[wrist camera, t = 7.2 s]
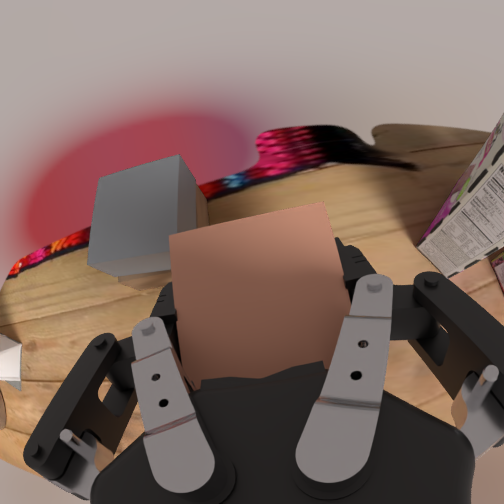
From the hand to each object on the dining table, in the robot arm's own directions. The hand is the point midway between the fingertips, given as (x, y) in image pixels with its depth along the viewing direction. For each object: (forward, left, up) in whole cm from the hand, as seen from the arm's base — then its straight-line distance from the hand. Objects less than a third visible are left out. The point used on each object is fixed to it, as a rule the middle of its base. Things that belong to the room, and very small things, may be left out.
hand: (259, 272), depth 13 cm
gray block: (-9, +8, -8) cm, 15 cm away
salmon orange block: (0, -2, -5) cm, 5 cm away
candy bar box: (+19, +3, -12) cm, 23 cm away
